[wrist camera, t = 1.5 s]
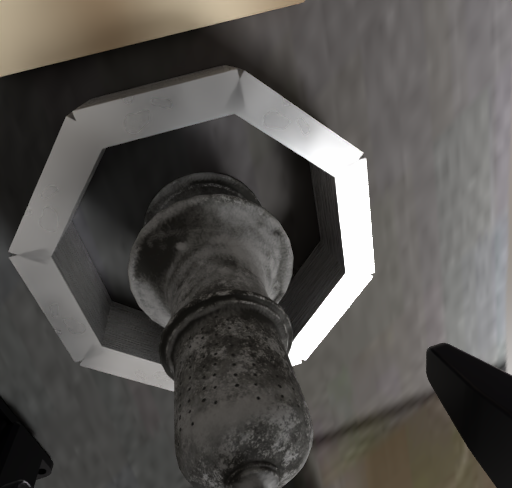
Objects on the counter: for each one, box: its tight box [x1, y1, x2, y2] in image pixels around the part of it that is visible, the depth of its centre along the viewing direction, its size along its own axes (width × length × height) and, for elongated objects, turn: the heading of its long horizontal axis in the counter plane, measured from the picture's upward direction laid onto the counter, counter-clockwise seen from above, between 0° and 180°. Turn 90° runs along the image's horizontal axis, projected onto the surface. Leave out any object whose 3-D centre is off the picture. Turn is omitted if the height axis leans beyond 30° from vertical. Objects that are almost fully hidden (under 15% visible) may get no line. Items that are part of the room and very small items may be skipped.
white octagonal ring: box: [8, 65, 374, 391], centre depth 15 cm, size 12×12×3 cm
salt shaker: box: [128, 172, 313, 488], centre depth 11 cm, size 6×6×12 cm
